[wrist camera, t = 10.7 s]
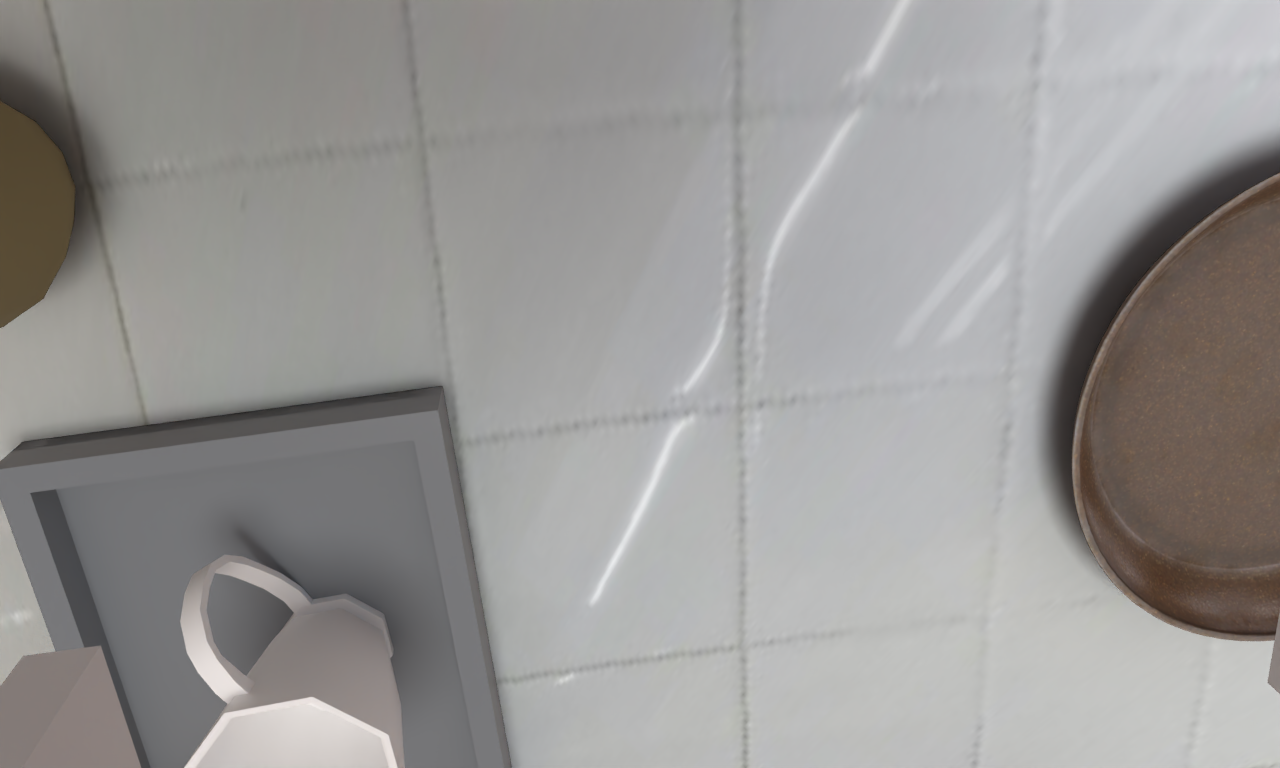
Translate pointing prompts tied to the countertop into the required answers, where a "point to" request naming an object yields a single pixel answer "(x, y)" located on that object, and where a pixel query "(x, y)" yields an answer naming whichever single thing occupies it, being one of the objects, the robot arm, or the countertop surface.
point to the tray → (262, 557)
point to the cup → (298, 682)
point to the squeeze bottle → (30, 212)
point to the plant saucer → (1192, 429)
